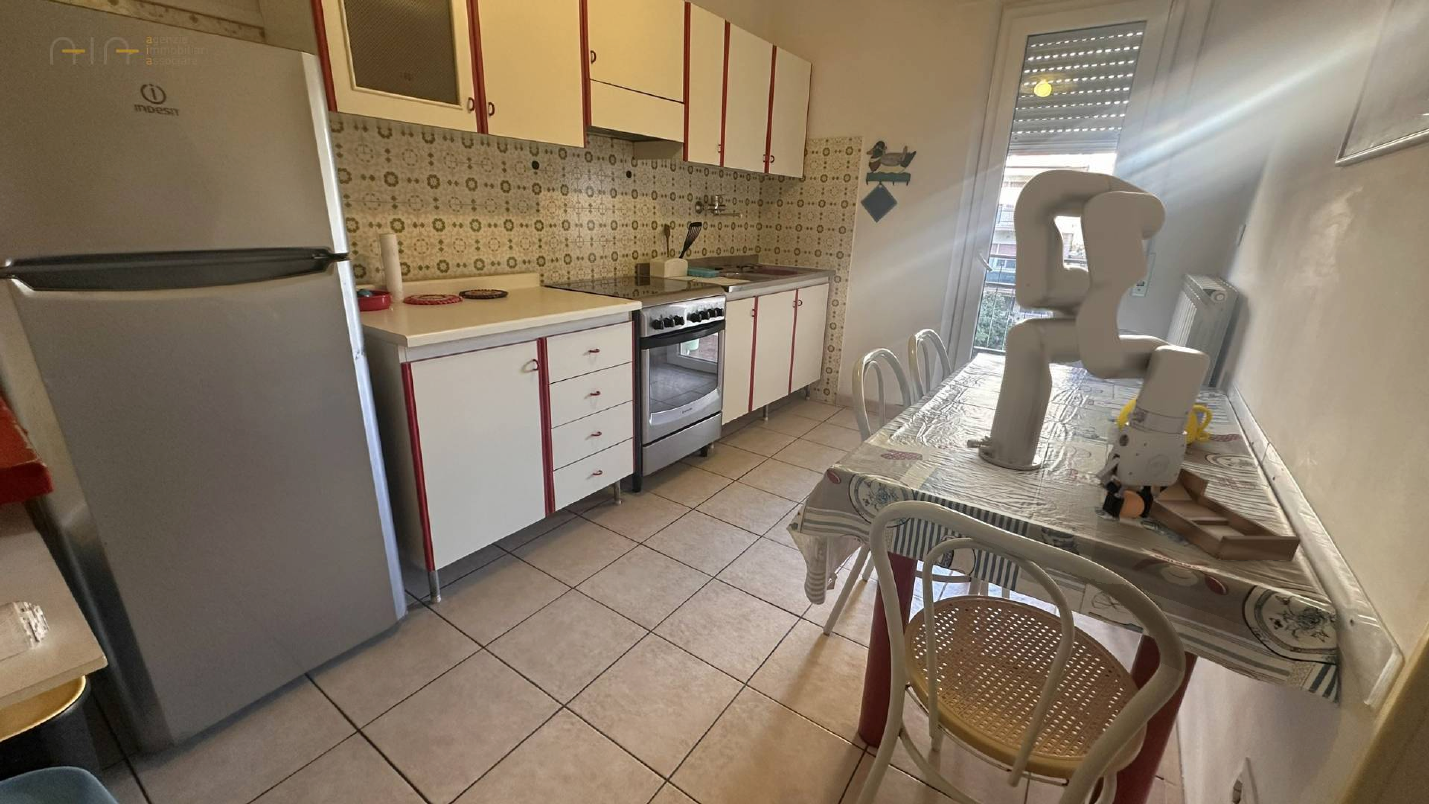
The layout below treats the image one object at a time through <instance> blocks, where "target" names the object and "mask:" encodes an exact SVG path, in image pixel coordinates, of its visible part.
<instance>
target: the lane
mask: <svg viewBox="0 0 1429 804" xmlns="http://www.w3.org/2000/svg"><path fill="white" fill-rule="evenodd" d="M1109 455H1110V452H1108V456H1107V458H1106V463H1105V465H1104V467H1105V466H1106V464H1107V461H1108V458H1109ZM1112 476H1113V475H1112ZM1112 476H1111V477H1112ZM1111 477H1110V479H1111ZM1209 481H1210V479H1208V478H1207V477H1204V476H1203V475H1200V474H1198V473H1196V472H1194V471H1192V470H1189V469H1188V468H1186V467H1184V466H1181V469H1180V472H1179V475H1178V481H1177V482H1176V483H1174V484H1172V485H1170V486H1168V487H1167V488H1166V489H1165V490H1164V491H1162V492H1161V493H1160V495H1159V497H1158V498H1156V499H1154V501H1153V503H1152V506H1151V509H1150V511H1149V514H1148V517H1151V518H1153V520H1156V521H1157V522H1159V523H1160V524H1162V525H1163V526H1164V527H1166V528H1168V529H1170V530H1172V531H1173V532H1175V533H1176V534H1178V535H1179V536H1180V537H1182V536H1183V537H1182V538H1184V539H1185V540H1187V539H1188V541H1189V542H1190V541H1191V542H1190V543H1192V542H1193V543H1194V544H1193V543H1192V544H1193V545H1195V544H1196V545H1198V546H1199V547H1198V546H1197V547H1198V548H1199V549H1201V548H1202V549H1201V550H1203V551H1204V552H1206V553H1207V554H1209V553H1210V554H1211V556H1212V557H1213V558H1215V557H1216V559H1217V560H1218V559H1220V560H1292V561H1293V559H1294V557H1295V555H1296V552H1297V550H1298V548H1299V546H1300V543H1301V541H1302V539H1301V538H1299V537H1297V536H1295V535H1281V534H1280V533H1277V532H1275V531H1274V530H1272V529H1270V528H1268V527H1266V526H1264V525H1262V524H1261V523H1260V522H1259V523H1258V522H1257V521H1255V520H1253V519H1251V518H1249V517H1247V516H1245V515H1243V514H1242V513H1240V512H1239V511H1236V510H1234V509H1232V508H1230V507H1228V506H1226V505H1224V503H1221V502H1219V501H1217V500H1215V499H1214V498H1211V497H1209V496H1208V495H1205V492H1206V490H1207V487H1208V484H1209ZM1120 484H1121V482H1119V481H1118V483H1117V484H1116V486H1117V487H1119V485H1120ZM1099 485H1101V486H1103V487H1104V488H1105V486H1104V485H1103V483H1102V482H1101V481H1100V482H1099ZM1137 490H1140V491H1141V486H1130V485H1129V486H1128V488H1127V490H1126V491H1131V492H1134V493H1136V492H1137ZM1196 545H1195V546H1196ZM1210 554H1209V555H1210ZM1220 560H1219V561H1220Z"/></svg>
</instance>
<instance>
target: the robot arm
mask: <svg viewBox="0 0 1429 804" xmlns="http://www.w3.org/2000/svg"><path fill="white" fill-rule="evenodd" d="M1166 216H1167V212H1166V207H1165V205H1164V203H1163V201H1162V200H1161V199H1160V198H1159V197H1158V196H1157V195H1155V194H1153V193H1151V192H1149V191H1147V190H1144V189H1142V188H1140V187H1138V186H1136V185H1134V184H1132V183H1129V182H1127V181H1125V180H1124V179H1122V178H1119V177H1117V176H1115V175H1112V174H1109V173H1103V172H1094V171H1084V170H1079V169H1078V170H1077V169H1069V168H1068V169H1067V168H1065V169H1064V168H1061V169H1060V168H1056V169H1048V170H1044V171H1041V172H1038V173H1036V174H1035V175H1033V176H1032V177H1030V179H1028V180H1027V182H1026V183H1025V184H1024V185H1023V186H1022V187H1021V189H1020V191H1019V193H1018V195H1017V197H1016V199H1015V202H1014V206H1013V227H1014V233H1015V251H1016V252H1015V275H1014V276H1015V278H1014V279H1015V281H1014V283H1015V284H1014V285H1015V286H1014V293H1015V294H1014V296H1015V301H1016V304H1017V305H1018V306H1019V307H1020V308H1022V309H1023V310H1026V311H1033V312H1052V317H1029V318H1025V319H1022V320H1018V322H1016V323H1015V324H1013V325H1012V326H1011V328H1009V330H1008V332H1007V333H1006V334H1007V335H1006V337H1005V346H1004V347H1005V348H1004V350H1005V354H1004V355H1005V357H1004V367H1003V369H1004V370H1003V373H1002V377H1001V378H1002V379H1001V384H1000V389H999V393H998V398H997V403H996V407H995V411H994V416H993V419H992V424H991V429H990V433H989V434H985V436H984V438H981V439H967V441H966V447H967V448H968V449H978V454H979V456H980V457H981V458H982V459H984V460H985V461H986V462H989V463H991V464H993V465H997V466H1000V467H1003V468H1007V469H1011V470H1012V469H1013V470H1016V471H1017V470H1019V471H1033V470H1038V469H1039V468H1040V467H1041V466H1042V464H1043V463H1042V462H1043V461H1042V458H1041V457H1040V456H1039V455H1038V454H1037V450H1038V449H1037V448H1038V446H1039V442H1040V439H1041V437H1040V436H1041V434H1042V431H1043V426H1044V421H1045V420H1046V419H1045V418H1046V414H1047V411H1048V406H1049V403H1050V398H1051V395H1052V390H1053V377H1052V374H1051V373H1052V372H1051V369H1050V364H1065V363H1067V364H1068V363H1076V362H1079V361H1080V362H1081V364H1082V365H1083V366H1082V367H1084V370H1086V372H1087V374H1090V375H1091V376H1092V377H1095V378H1097V379H1099V380H1100V379H1102V380H1119V379H1120V380H1121V379H1123V380H1124V379H1133V380H1134V379H1138V380H1139V379H1140V380H1142V381H1141V385H1140V387H1139V390H1138V393H1137V395H1136V396H1137V398H1136V401H1135V404H1134V407H1133V410H1132V413H1128V414H1127V418H1128V420H1129V422H1127V423H1125V425H1124V427H1123V428H1122V430H1120V432H1119V433H1118V435H1117V438H1116V439H1115V441H1114V444H1113V446H1112V448H1111V450H1110V452H1109V453H1110V455H1109V454H1108V455H1109V458H1108V457H1107V459H1108V461H1107V460H1106V462H1107V464H1106V463H1105V465H1106V466H1105V465H1104V466H1103V468H1101V470H1099V471H1098V472H1097V473H1096V474H1095V477H1096V479H1098V480H1099V481H1100V482H1102V483H1103V485H1104V486H1105V487H1104V486H1103V485H1102V486H1103V487H1104V489H1105V491H1107V492H1106V495H1105V499H1104V502H1103V504H1102V507H1101V508H1102V510H1103V511H1104V512H1105V513H1106V514H1108V515H1109V516H1110V517H1112V518H1114V519H1115V518H1119V517H1120V516H1119V514H1120V511H1121V508H1122V505H1123V503H1124V498H1123V497H1122V496H1123V494H1124V493H1125V491H1126V490H1127V488H1128V486H1129V485H1130V486H1141V491H1140V490H1137V492H1136V494H1138V495H1139V496H1140V497H1141V498H1142V500H1143V502H1144V510H1143V512H1142V513H1141V514H1140V515H1139V516H1138V517H1140V518H1142V519H1147V518H1148V517H1149V515H1148V514H1149V511H1150V509H1151V506H1152V503H1153V501H1154V499H1156V498H1158V497H1159V495H1160V493H1161V492H1162V491H1164V490H1165V489H1166V488H1167V487H1168V486H1170V485H1172V484H1174V483H1176V482H1177V481H1178V475H1179V472H1180V469H1181V466H1182V465H1183V462H1184V457H1185V453H1186V450H1187V445H1188V444H1187V432H1186V431H1185V428H1186V425H1187V423H1188V420H1189V417H1190V415H1191V412H1192V409H1193V407H1194V404H1195V402H1196V399H1198V397H1199V394H1200V391H1201V389H1202V386H1203V383H1204V381H1205V379H1206V375H1207V373H1208V371H1209V367H1210V363H1211V358H1210V356H1209V355H1208V354H1207V353H1205V352H1203V351H1201V350H1198V349H1194V348H1191V347H1184V346H1178V345H1176V344H1172V343H1170V342H1167V341H1166V340H1164V339H1160V338H1158V337H1156V336H1150V335H1142V334H1141V335H1132V334H1130V335H1129V334H1128V335H1125V334H1123V335H1120V333H1119V328H1118V319H1117V318H1118V317H1117V316H1118V315H1117V313H1118V307H1119V303H1120V301H1121V299H1122V297H1123V296H1124V295H1125V294H1126V292H1127V291H1128V290H1129V289H1131V288H1132V287H1134V286H1135V285H1137V284H1139V283H1141V282H1142V281H1144V279H1145V278H1146V277H1147V276H1148V274H1149V265H1148V263H1147V255H1146V251H1145V246H1144V244H1145V243H1144V241H1148V240H1150V239H1152V238H1154V237H1155V236H1156V235H1157V234H1158V233H1159V232H1161V231H1162V228H1163V227H1164V224H1165V222H1166ZM1057 217H1066V218H1067V217H1068V218H1079V222H1080V223H1079V224H1080V230H1081V236H1082V241H1083V242H1082V243H1083V247H1084V253H1085V259H1086V265H1087V269H1086V268H1084V267H1083V266H1079V265H1071V264H1065V259H1064V249H1065V248H1064V247H1065V242H1064V238H1063V234H1062V231H1061V229H1060V227H1059V225H1058V224H1057V222H1056V218H1057ZM1145 280H1146V279H1145ZM1186 444H1187V445H1186ZM1182 467H1183V466H1182ZM1112 475H1113V476H1112ZM1111 476H1112V477H1111ZM1110 477H1111V479H1110ZM1118 481H1119V482H1121V484H1120V485H1119V487H1117V486H1116V484H1117V483H1118Z"/></svg>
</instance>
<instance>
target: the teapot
mask: <svg viewBox="0 0 1429 804" xmlns="http://www.w3.org/2000/svg"><path fill="white" fill-rule="evenodd" d="M1136 398H1137V395H1136V396H1135V397H1134V398H1132V400H1130V401H1129V402H1127V404H1126V405H1124V406H1123V408H1122V409H1121V411H1120V412H1119V413H1118V416H1117V418H1116V425H1117V426H1118V428H1119V429H1120V431H1121V430H1122V428H1123V427H1124V425H1125V423H1127V422H1129V420H1128V418H1127V414H1128V413H1132V410H1133V407H1134V404H1135V401H1136ZM1194 410H1202V411H1204V412H1205V413H1204V414H1206V417H1205V419H1204V421H1202V422H1201V425H1200V427H1199V428H1198V423H1197V418H1196V415H1195V413H1194ZM1212 413H1213V412H1212V411H1211V410H1210V409H1209V408H1208V407H1203V406H1200V405H1194V407H1193V409H1192V412H1191V415H1190V417H1189V420H1188V423H1187V425H1186V428H1185V431H1186V432H1187V444H1186V446H1187V445H1188V444H1189V445H1190V444H1191V443H1192V442H1194V441H1198V442H1201V443H1202V442H1203V443H1204V442H1207V441H1209V439H1210V438H1211V437H1210V433H1209V432H1208V431H1205V429H1206V428H1207V427H1208V425H1210V423H1211V421H1212V418H1213V414H1212ZM1201 435H1205V436H1203V437H1201Z"/></svg>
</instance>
